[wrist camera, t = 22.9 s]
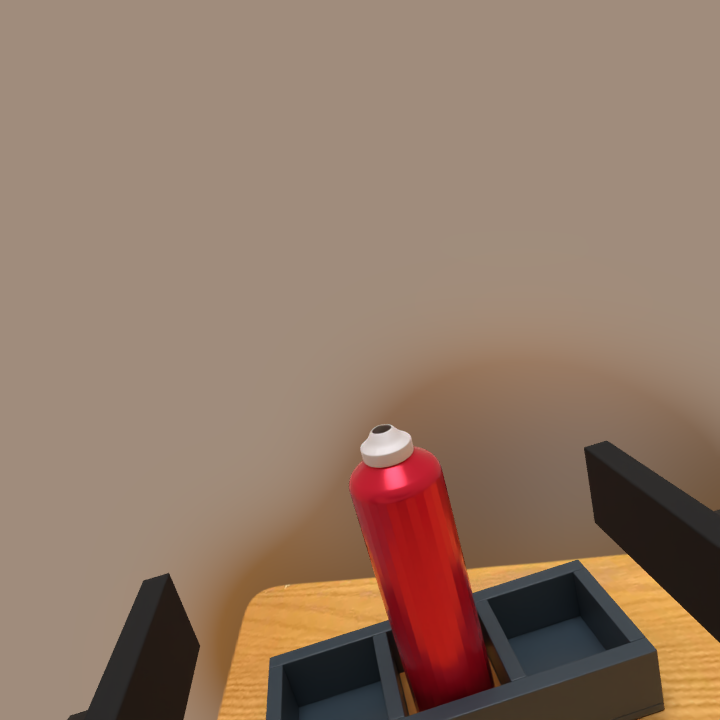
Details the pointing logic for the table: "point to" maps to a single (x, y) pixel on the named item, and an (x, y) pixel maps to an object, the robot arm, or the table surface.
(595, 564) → the table surface
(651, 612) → the table surface
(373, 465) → the bottle
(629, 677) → the rack
